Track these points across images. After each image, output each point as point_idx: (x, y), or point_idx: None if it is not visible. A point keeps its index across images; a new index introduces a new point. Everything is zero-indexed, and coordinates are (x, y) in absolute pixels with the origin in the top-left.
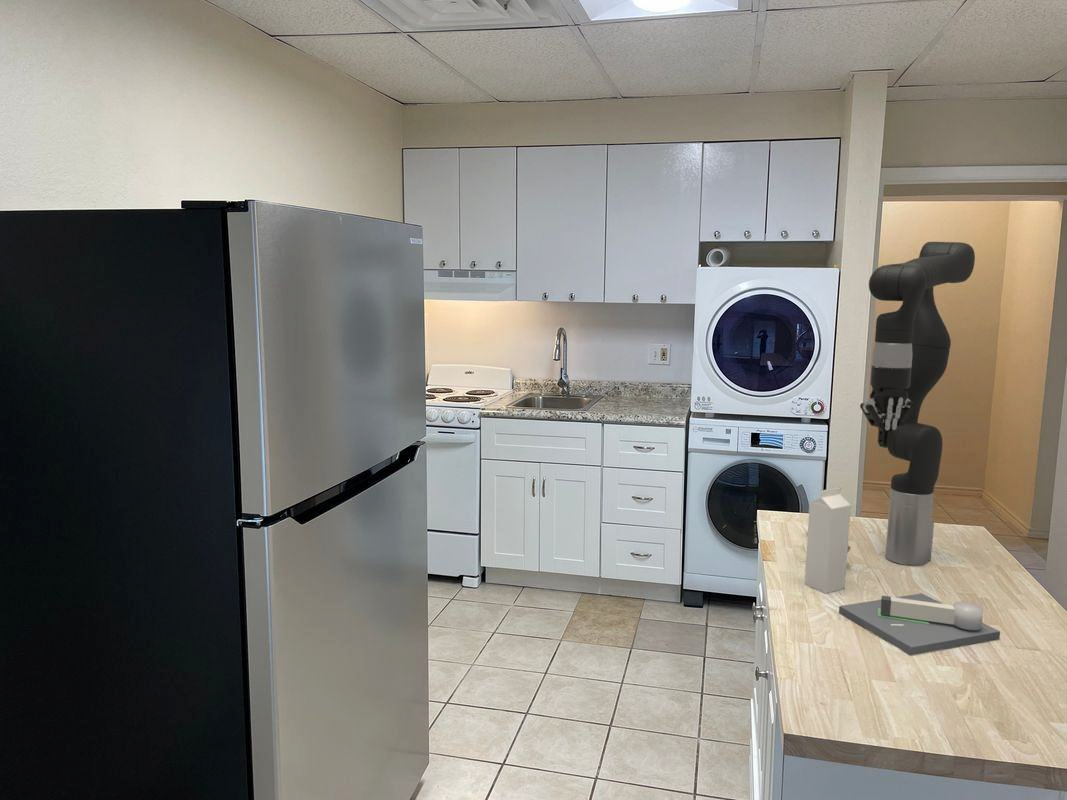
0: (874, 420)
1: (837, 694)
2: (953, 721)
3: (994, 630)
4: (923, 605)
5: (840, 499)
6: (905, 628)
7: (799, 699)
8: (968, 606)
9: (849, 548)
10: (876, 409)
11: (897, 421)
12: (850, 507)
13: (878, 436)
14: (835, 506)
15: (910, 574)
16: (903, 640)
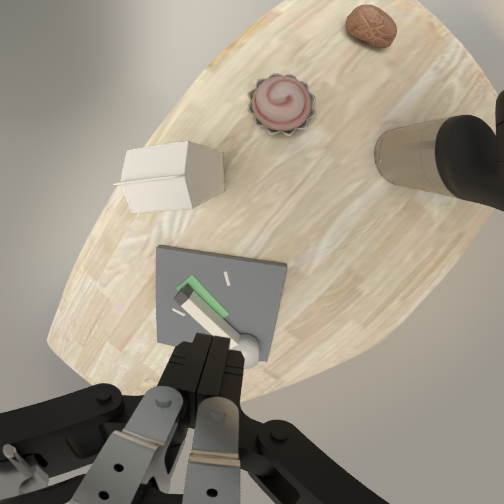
0: (71, 436)
1: (78, 338)
2: (126, 389)
3: (263, 358)
4: (206, 329)
5: (172, 191)
6: (181, 319)
7: (57, 328)
8: (245, 357)
9: (300, 129)
10: (73, 479)
11: (248, 470)
12: (193, 207)
13: (167, 365)
14: (145, 208)
15: (356, 197)
16: (160, 332)
